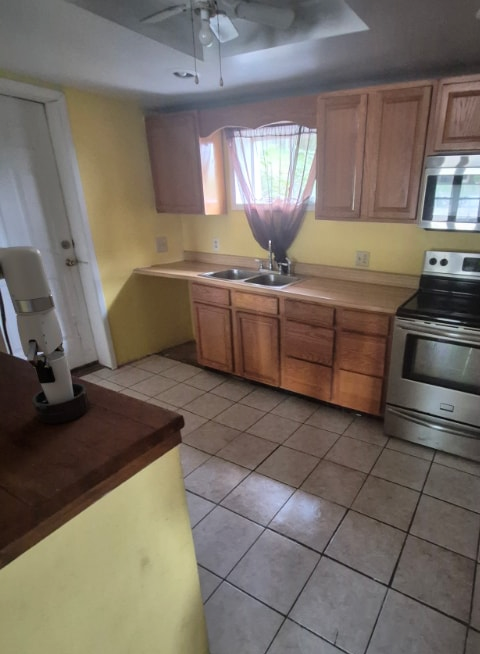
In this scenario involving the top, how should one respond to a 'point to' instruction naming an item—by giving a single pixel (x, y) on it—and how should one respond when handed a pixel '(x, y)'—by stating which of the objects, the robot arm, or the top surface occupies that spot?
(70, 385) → the drinking glass
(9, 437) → the top surface
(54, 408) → the bowl
